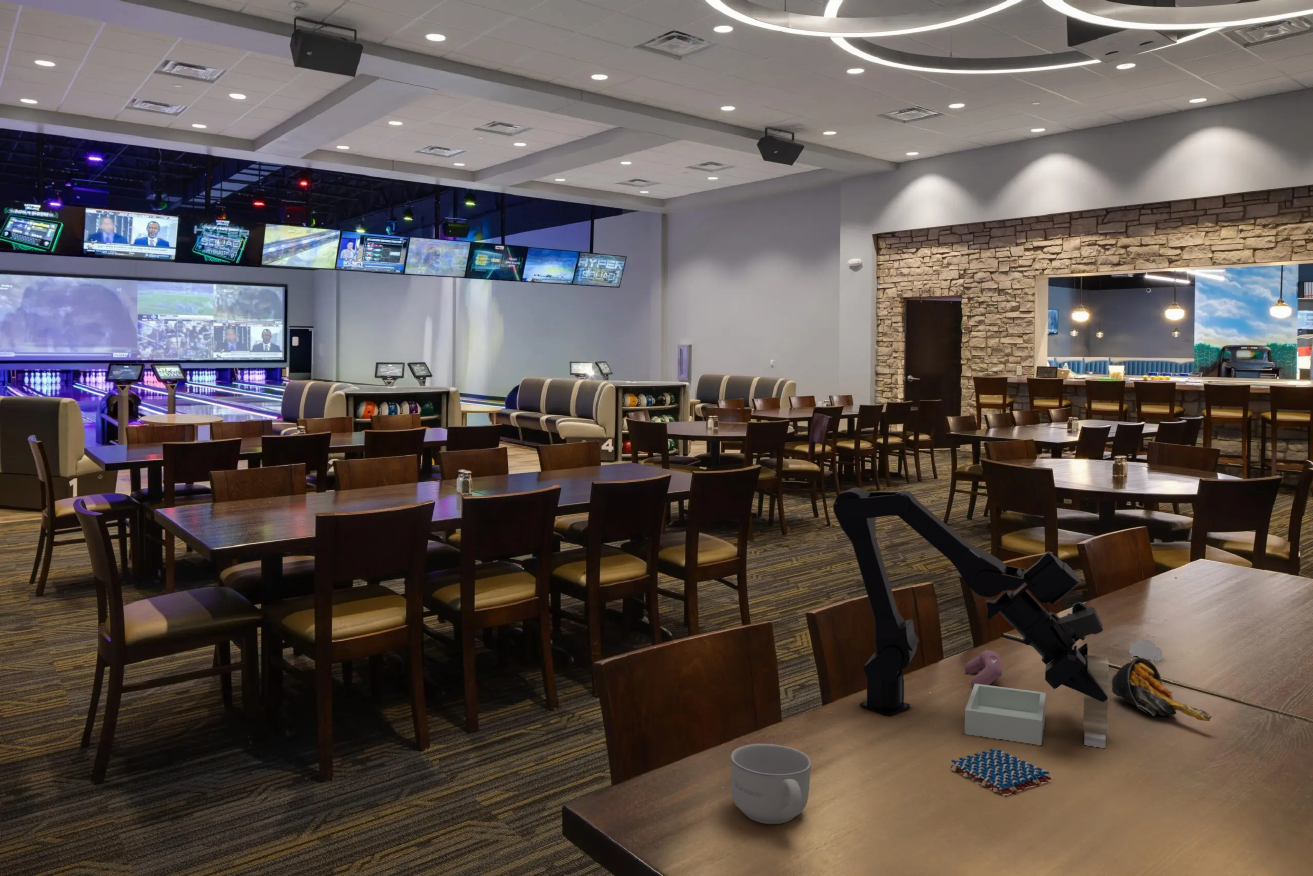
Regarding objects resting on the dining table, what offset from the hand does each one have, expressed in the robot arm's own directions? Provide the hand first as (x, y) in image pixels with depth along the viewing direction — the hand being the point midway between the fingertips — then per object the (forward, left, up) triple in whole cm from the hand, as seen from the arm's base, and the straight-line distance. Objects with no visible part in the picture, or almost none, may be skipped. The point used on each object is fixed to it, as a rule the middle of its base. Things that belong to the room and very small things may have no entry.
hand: (1105, 696), depth 146 cm
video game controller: (+10, +28, -7) cm, 30 cm away
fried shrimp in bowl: (+17, -1, -7) cm, 19 cm away
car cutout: (+46, +18, -8) cm, 51 cm away
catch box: (-7, +13, -7) cm, 16 cm away
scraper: (-1, +1, -7) cm, 7 cm away
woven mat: (-25, +3, -8) cm, 26 cm away
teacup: (-60, +15, -7) cm, 62 cm away
